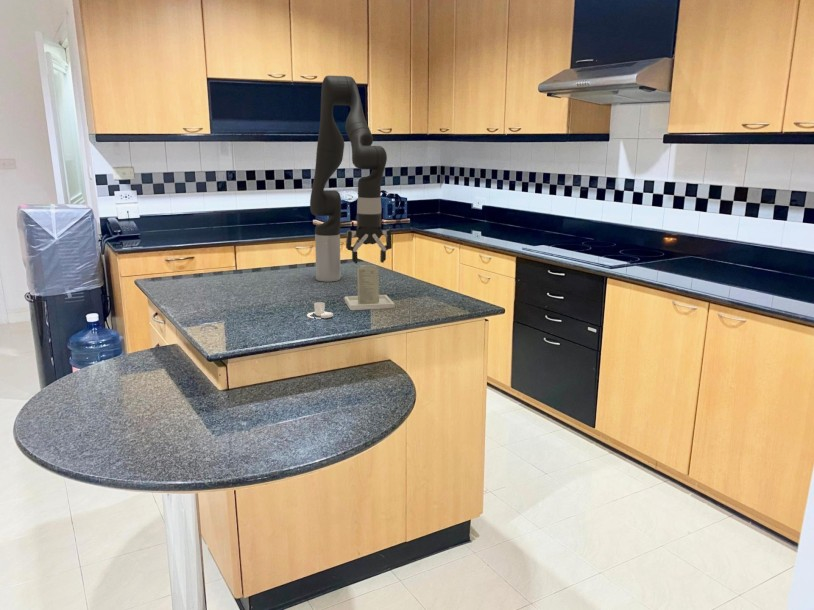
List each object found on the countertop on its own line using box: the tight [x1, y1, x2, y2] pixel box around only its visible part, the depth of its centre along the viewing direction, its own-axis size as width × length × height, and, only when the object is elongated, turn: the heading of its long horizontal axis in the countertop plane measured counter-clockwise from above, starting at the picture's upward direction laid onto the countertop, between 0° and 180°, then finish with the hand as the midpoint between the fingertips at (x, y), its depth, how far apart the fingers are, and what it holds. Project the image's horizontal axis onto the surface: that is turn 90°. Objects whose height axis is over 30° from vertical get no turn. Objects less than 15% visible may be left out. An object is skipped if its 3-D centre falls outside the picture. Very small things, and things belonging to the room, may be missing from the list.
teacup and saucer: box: [306, 301, 334, 320], centre depth 194 cm, size 9×8×4 cm
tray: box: [344, 294, 395, 311], centre depth 208 cm, size 12×14×2 cm
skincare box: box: [356, 264, 380, 304], centre depth 206 cm, size 6×4×12 cm
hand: (368, 262), depth 204 cm, fingers open, 8 cm apart
